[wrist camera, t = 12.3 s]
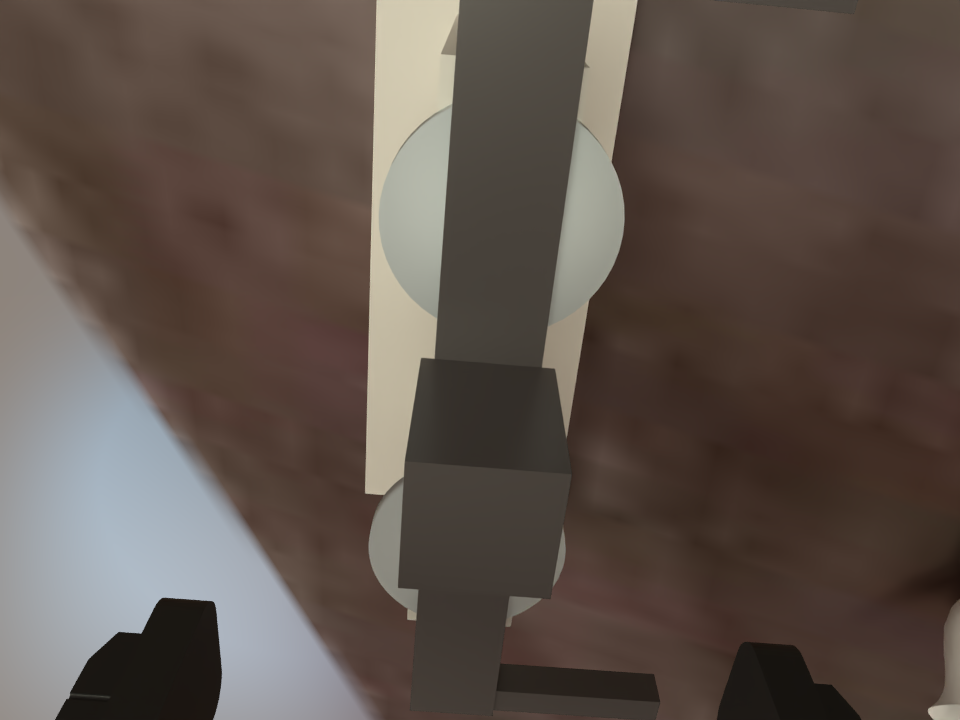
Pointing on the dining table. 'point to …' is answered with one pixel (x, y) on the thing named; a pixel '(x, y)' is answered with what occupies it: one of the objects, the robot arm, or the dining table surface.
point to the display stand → (397, 113)
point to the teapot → (950, 670)
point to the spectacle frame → (499, 355)
